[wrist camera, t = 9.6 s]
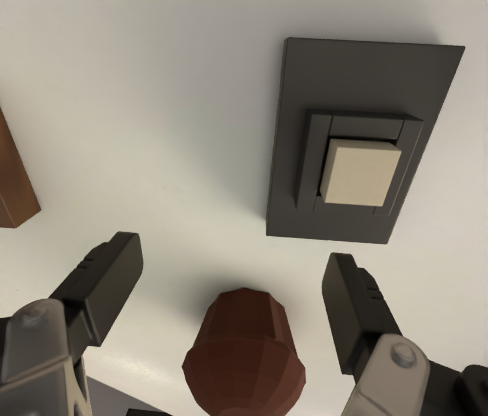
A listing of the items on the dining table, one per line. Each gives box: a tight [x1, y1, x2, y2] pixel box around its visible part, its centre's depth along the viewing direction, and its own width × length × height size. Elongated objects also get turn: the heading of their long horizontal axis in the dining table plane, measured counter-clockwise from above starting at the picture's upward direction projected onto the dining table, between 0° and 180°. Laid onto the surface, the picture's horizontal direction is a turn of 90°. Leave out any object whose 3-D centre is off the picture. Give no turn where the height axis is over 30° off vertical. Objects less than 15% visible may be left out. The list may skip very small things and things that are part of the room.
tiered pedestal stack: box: [266, 37, 465, 244], centre depth 19 cm, size 14×10×4 cm
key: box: [320, 139, 401, 206], centre depth 17 cm, size 4×4×2 cm
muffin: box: [182, 288, 306, 416], centre depth 26 cm, size 12×11×10 cm
